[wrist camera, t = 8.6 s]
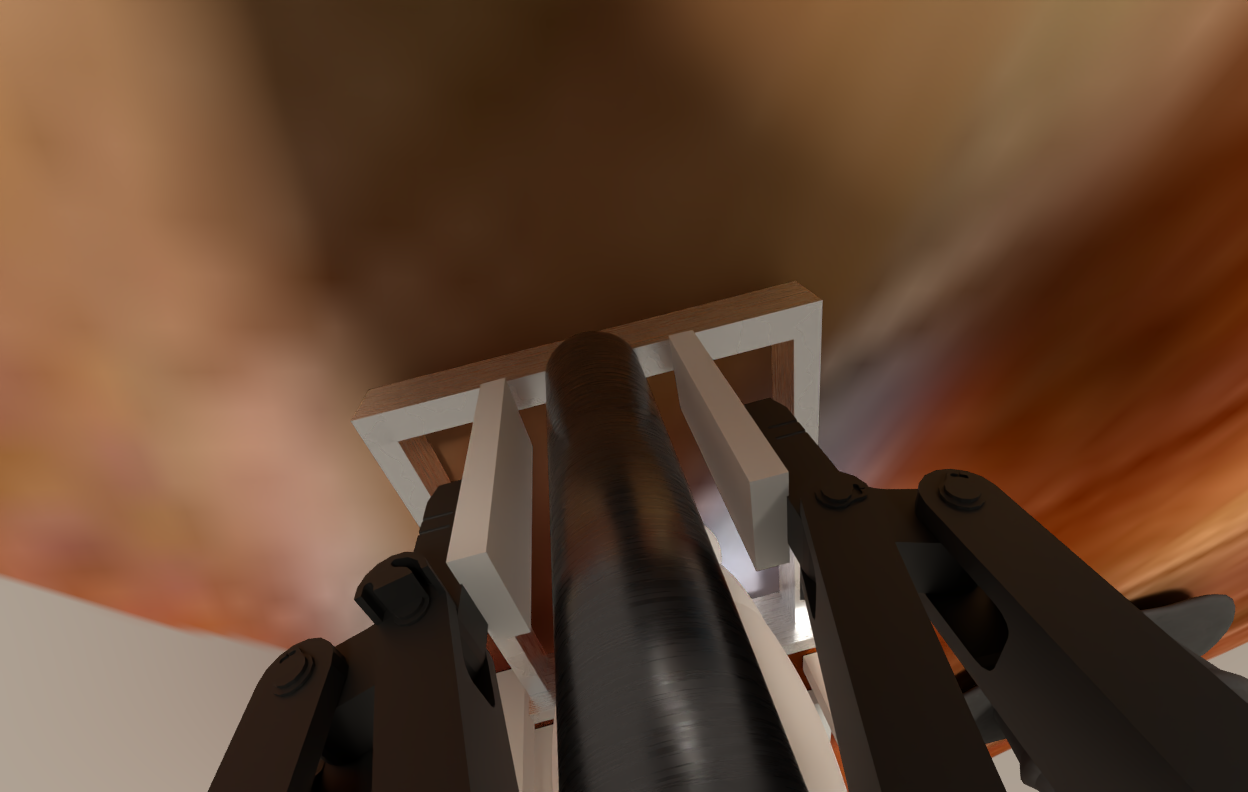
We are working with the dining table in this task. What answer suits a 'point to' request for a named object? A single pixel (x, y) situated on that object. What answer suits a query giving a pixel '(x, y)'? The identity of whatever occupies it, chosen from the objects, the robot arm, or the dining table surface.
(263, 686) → the robot arm
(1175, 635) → the casserole
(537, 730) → the open rectangular frame
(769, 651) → the jar
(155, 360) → the dining table surface
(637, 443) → the picture frame
